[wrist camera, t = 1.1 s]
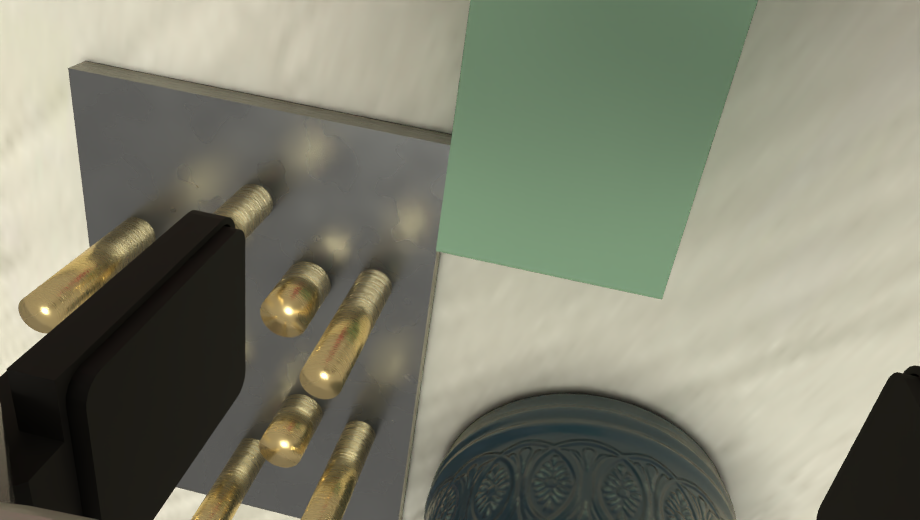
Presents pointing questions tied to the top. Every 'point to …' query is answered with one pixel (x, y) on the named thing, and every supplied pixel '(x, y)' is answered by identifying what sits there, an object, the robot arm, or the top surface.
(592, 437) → the canister
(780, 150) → the top surface
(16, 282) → the top surface
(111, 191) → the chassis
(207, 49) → the top surface
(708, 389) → the top surface
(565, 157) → the green boxy piece
